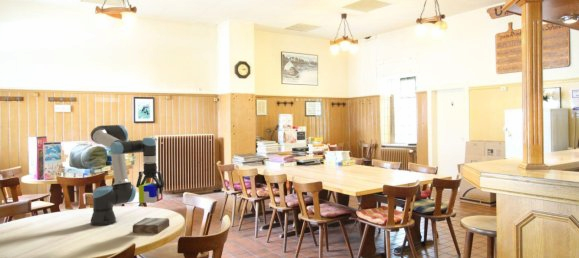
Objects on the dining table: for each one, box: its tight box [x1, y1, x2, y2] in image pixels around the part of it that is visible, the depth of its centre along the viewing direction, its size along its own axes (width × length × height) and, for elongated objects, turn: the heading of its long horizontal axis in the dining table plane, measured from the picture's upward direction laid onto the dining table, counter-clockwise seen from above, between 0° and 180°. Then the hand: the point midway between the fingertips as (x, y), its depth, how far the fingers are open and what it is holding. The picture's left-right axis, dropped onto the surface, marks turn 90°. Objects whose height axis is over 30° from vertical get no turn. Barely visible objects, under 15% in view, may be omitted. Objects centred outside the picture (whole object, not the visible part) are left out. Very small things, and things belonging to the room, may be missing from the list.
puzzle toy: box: [138, 182, 164, 204], centre depth 246 cm, size 10×10×10 cm
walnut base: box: [132, 217, 170, 234], centre depth 247 cm, size 16×16×5 cm
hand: (151, 198), depth 247 cm, fingers closed on puzzle toy, 10 cm apart
